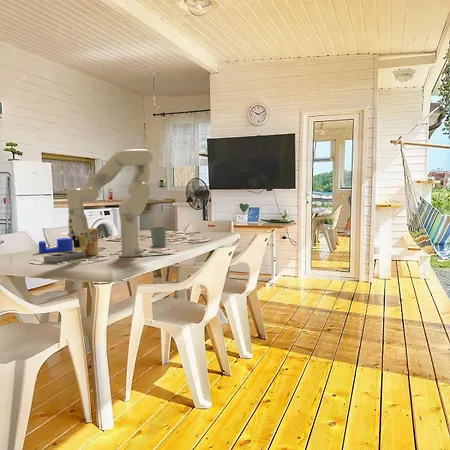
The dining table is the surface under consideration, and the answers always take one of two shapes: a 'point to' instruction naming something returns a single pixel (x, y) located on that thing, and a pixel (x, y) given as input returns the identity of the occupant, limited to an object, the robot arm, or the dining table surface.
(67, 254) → the grey flat frame
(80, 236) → the tan shipping carton
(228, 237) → the dining table surface
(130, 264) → the dining table surface
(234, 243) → the dining table surface
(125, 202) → the robot arm
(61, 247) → the bracket
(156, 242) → the green cup
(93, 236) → the candy box
